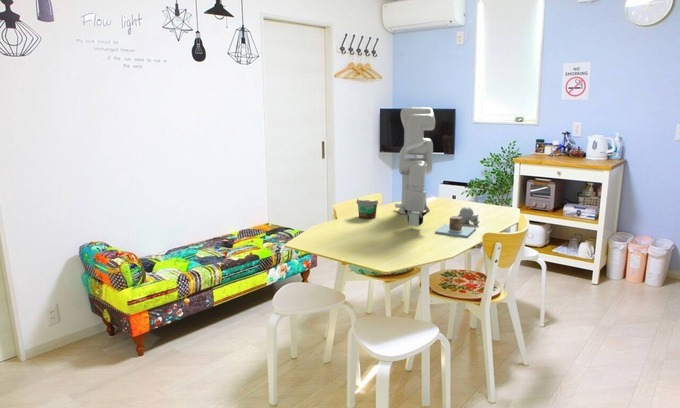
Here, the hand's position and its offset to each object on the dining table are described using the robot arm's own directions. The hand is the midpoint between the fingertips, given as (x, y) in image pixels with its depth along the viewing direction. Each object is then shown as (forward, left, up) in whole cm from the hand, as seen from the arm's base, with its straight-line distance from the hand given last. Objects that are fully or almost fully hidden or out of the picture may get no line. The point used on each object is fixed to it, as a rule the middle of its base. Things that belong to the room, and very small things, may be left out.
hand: (415, 223), depth 253 cm
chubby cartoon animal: (+21, +24, -3) cm, 32 cm away
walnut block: (+19, +5, -2) cm, 20 cm away
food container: (-32, +8, -3) cm, 33 cm away
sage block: (0, 0, -1) cm, 1 cm away
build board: (+19, +5, -3) cm, 20 cm away
